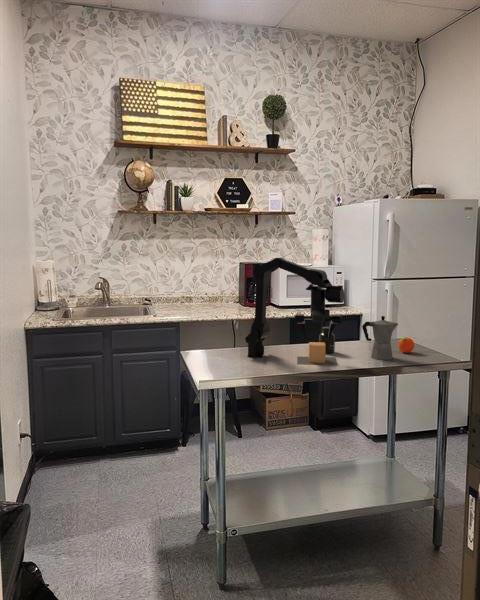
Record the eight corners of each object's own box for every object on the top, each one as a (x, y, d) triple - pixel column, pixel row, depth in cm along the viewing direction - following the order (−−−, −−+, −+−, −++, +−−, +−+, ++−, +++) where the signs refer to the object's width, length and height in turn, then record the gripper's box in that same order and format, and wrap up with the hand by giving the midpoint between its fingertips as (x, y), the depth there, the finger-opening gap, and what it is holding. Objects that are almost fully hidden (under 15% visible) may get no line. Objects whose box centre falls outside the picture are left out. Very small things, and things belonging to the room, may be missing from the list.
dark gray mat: (297, 366, 204) (297, 364, 204) (297, 358, 218) (297, 356, 218) (338, 367, 202) (338, 365, 202) (335, 359, 216) (335, 357, 216)
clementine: (406, 355, 224) (406, 339, 223) (393, 352, 230) (393, 336, 229) (417, 353, 229) (418, 337, 228) (404, 350, 234) (404, 335, 234)
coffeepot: (393, 355, 225) (394, 314, 223) (400, 359, 216) (402, 317, 214) (358, 355, 224) (359, 314, 222) (364, 360, 215) (365, 317, 213)
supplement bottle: (334, 356, 222) (335, 329, 221) (318, 355, 224) (319, 328, 222) (334, 353, 229) (335, 326, 228) (319, 352, 230) (319, 326, 229)
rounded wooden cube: (309, 362, 207) (309, 345, 206) (308, 358, 213) (308, 342, 212) (325, 362, 206) (325, 345, 205) (324, 359, 213) (324, 342, 212)
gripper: (294, 303, 200) (294, 343, 202) (343, 304, 198) (342, 344, 200) (294, 300, 211) (294, 337, 213) (340, 300, 209) (340, 338, 211)
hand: (317, 339), depth 209 cm, fingers open, 9 cm apart
